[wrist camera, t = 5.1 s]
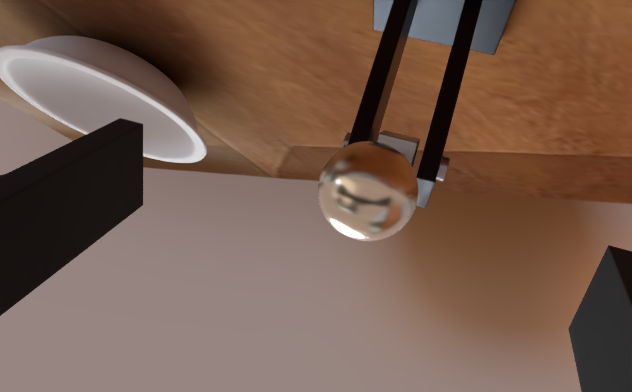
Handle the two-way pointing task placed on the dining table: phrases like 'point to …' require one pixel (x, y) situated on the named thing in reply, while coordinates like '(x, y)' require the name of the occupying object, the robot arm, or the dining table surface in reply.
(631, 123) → the dining table surface
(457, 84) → the bracket
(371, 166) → the ball-tipped metal rod
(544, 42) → the dining table surface
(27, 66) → the soup bowl
